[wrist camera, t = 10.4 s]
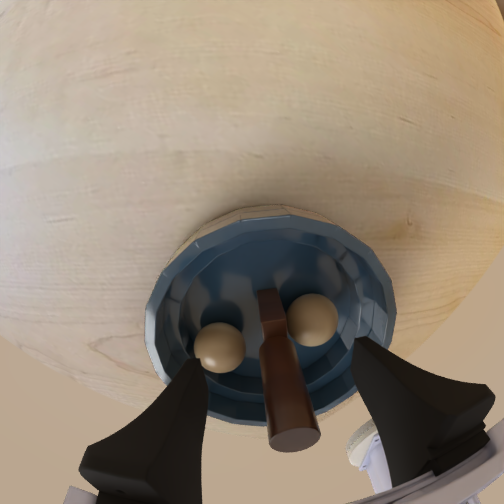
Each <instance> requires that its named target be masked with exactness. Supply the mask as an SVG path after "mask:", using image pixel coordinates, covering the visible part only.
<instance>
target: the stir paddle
mask: <svg viewBox="0 0 504 504" xmlns="http://www.w3.org/2000/svg"><path fill="white" fill-rule="evenodd" d="M257 299H258V307H259V314H260V322H261V329H262V337H263V343H262V345H261V346H260V348H259V359H260V368H261V377H262V386H263V395H264V403H265V412H266V421H267V429H268V438H269V445H270V446H271V448H272V449H274V450H276V451H280V452H297V451H301V450H304V449H307V448H309V447H311V446H313V445H314V444H315V443H316V442H317V441H318V440H319V439H320V436H321V433H320V429H319V426H318V422H317V419H316V415H315V412H314V409H313V405H312V402H311V398H310V395H309V392H308V388H307V385H306V382H305V378H304V375H303V372H302V368H301V365H300V362H299V358H298V355H297V352H296V348H295V345H294V343H293V342H292V341H291V340H290V339H288V330H287V318H286V315H285V312H284V309H283V306H282V302H281V299H280V296H279V293H278V290H277V288H272V289H265V290H258V291H257Z"/></svg>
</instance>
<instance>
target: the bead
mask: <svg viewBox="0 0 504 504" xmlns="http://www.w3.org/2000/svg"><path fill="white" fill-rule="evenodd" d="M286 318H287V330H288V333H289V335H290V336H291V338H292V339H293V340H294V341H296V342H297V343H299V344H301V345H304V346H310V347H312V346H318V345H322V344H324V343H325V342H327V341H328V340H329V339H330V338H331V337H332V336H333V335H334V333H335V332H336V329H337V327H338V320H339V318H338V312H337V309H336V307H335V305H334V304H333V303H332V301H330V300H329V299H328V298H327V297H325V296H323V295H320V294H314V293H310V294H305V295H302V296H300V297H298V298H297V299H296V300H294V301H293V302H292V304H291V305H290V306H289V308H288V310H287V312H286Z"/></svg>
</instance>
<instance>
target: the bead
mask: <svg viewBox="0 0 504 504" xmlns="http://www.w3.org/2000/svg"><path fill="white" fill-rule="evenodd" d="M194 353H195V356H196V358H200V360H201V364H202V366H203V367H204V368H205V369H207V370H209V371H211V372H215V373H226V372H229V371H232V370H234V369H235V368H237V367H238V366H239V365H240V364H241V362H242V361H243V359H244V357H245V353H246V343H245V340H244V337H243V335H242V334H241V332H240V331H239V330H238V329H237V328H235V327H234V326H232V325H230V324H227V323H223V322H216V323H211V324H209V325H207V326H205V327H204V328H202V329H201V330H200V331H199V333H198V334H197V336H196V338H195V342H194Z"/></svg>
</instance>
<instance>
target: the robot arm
mask: <svg viewBox="0 0 504 504" xmlns="http://www.w3.org/2000/svg"><path fill="white" fill-rule="evenodd" d="M350 371H351V374H352V377H353V379H354V382H355V385H356V387H357V389H358V391H359V393H360V395H361V397H362V399H363V401H364V403H365V405H366V407H367V409H368V411H369V412H370V415H371V416H372V419H373V421H374V423H375V425H376V428H377V431H378V433H377V434H375V435H374V436H373V438H372V441H371V443H370V445H369V448H368V450H367V452H366V454H365V456H364V459H363V461H362V463H361V465H360V467H359V471H363V470H366V469H367V472H368V475H369V478H370V480H371V483H372V486H373V488H374V491H375V494H376V495H373V496H370V497H367V498H364V499H360V500H357V501H354V502H350V503H347V504H467V503H468V504H481V503H480V501H479V498H478V496H477V494H478V493H480V492H481V491H482V490H483V489H485V488H486V487H487V486H489V485H490V484H491V483H492V482H494V481H495V480H496V479H497V478H498V477H499V476H501V475H502V474H503V473H504V419H502V420H501V421H500V422H498V423H497V424H496V425H494V426H493V427H492V428H491V429H490V430H489V431H487V433H486V432H485V431H484V428H485V426H486V425H485V423H484V422H483V420H484V418H485V417H486V415H487V414H488V412H489V411H490V409H491V408H492V406H493V404H494V401H495V395H494V394H493V392H492V391H491V390H490V389H489V388H488V387H487V385H486V384H476V383H467V382H460V381H455V380H452V379H448V378H445V377H441V376H438V375H435V374H433V373H430V372H428V371H425V370H423V369H421V368H418V367H416V366H414V365H412V364H410V363H409V362H407V361H405V360H403V359H401V358H400V357H398V356H396V355H395V354H393V353H392V352H390V351H389V350H387V349H385V348H384V347H382V346H381V345H379V344H378V343H376V342H375V341H373V340H372V339H370V338H369V337H367V336H363V337H358V338H354V346H353V354H352V361H351V368H350ZM207 411H208V385H207V382H206V378H205V375H204V371H203V368H202V364H201V360H200V358H193V359H187V360H186V361H185V362H184V363H183V365H182V366H181V368H180V369H179V371H178V372H177V373H176V375H175V376H174V378H173V379H172V380H171V382H170V383H169V384H168V385H167V387H166V388H165V389H164V391H163V392H162V393H161V394H160V395H159V396H158V397H157V399H156V400H155V401H154V402H153V403H152V404H151V405H150V406H149V407H148V408H147V409H146V410H145V411H144V412H143V413H142V414H141V415H139V416H138V417H137V418H136V419H134V420H133V421H132V422H130V423H129V424H128V425H127V426H125V427H124V428H122V429H121V430H119V431H117V432H116V433H114V434H112V435H111V436H109V437H107V438H105V439H103V440H101V441H99V442H96V443H94V444H92V445H90V446H88V447H87V449H86V451H85V453H84V456H83V458H82V461H81V464H80V466H79V472H80V474H81V476H83V477H84V479H86V480H87V481H88V482H89V483H90V484H92V485H93V486H94V487H95V488H96V489H97V490H99V494H98V496H96V495H95V494H92V493H90V492H87V491H84V490H82V489H79V488H76V487H73V486H69V489H68V492H67V495H66V497H65V501H64V503H63V504H202V487H201V455H202V443H203V436H204V430H205V424H206V417H207Z"/></svg>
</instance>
